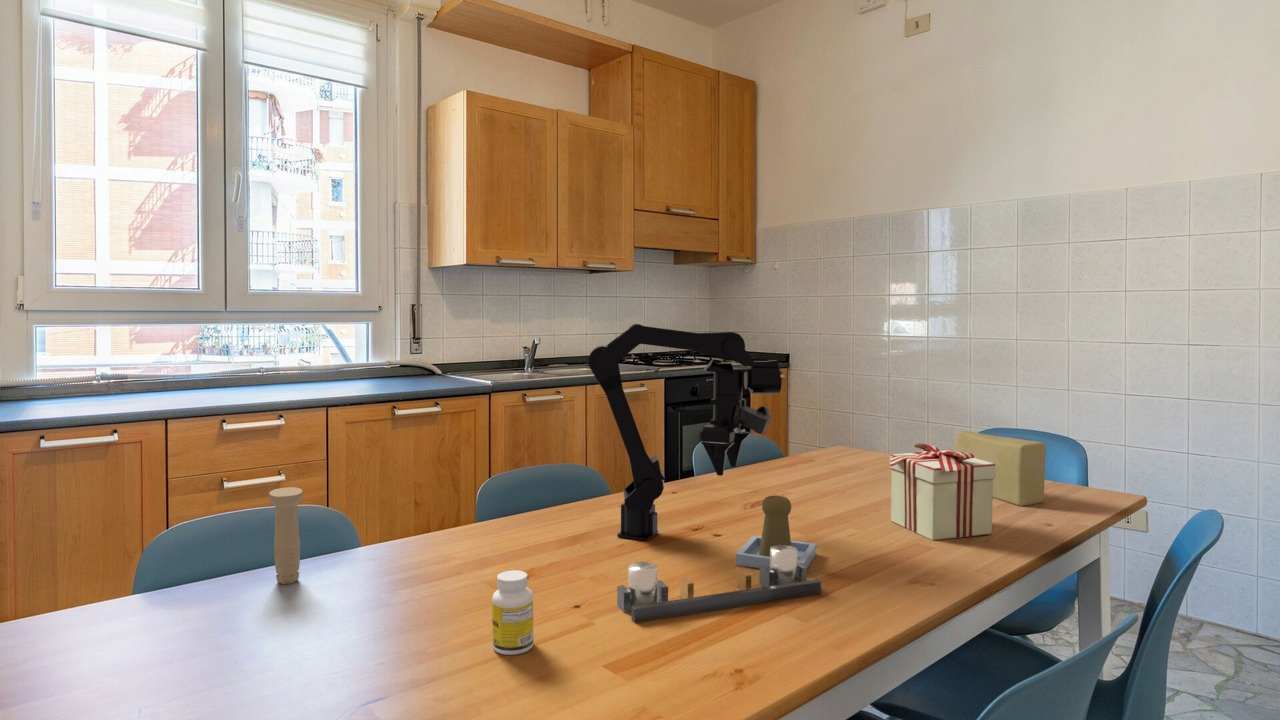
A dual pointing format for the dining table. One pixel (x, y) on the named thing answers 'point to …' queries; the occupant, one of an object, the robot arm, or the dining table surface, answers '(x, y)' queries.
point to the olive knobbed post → (775, 523)
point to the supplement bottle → (512, 614)
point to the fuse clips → (776, 585)
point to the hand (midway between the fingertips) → (726, 471)
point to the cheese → (1009, 465)
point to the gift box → (942, 493)
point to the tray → (752, 558)
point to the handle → (286, 533)
